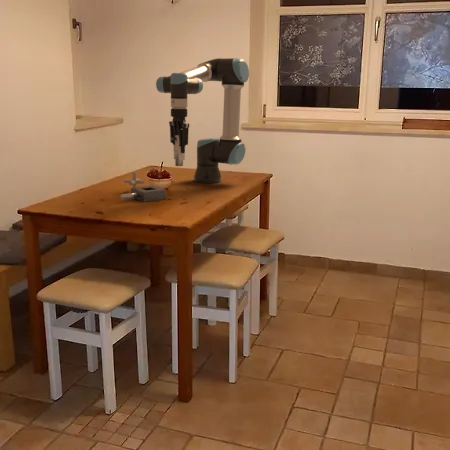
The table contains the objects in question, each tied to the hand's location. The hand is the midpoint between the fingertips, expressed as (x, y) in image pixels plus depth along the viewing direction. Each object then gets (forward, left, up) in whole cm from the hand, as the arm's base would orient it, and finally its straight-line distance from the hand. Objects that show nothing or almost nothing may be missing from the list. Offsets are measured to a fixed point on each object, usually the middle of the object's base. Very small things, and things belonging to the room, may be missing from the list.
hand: (179, 159), depth 275 cm
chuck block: (+16, -8, -18) cm, 26 cm away
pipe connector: (+10, -25, -19) cm, 33 cm away
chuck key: (0, 0, -3) cm, 3 cm away
